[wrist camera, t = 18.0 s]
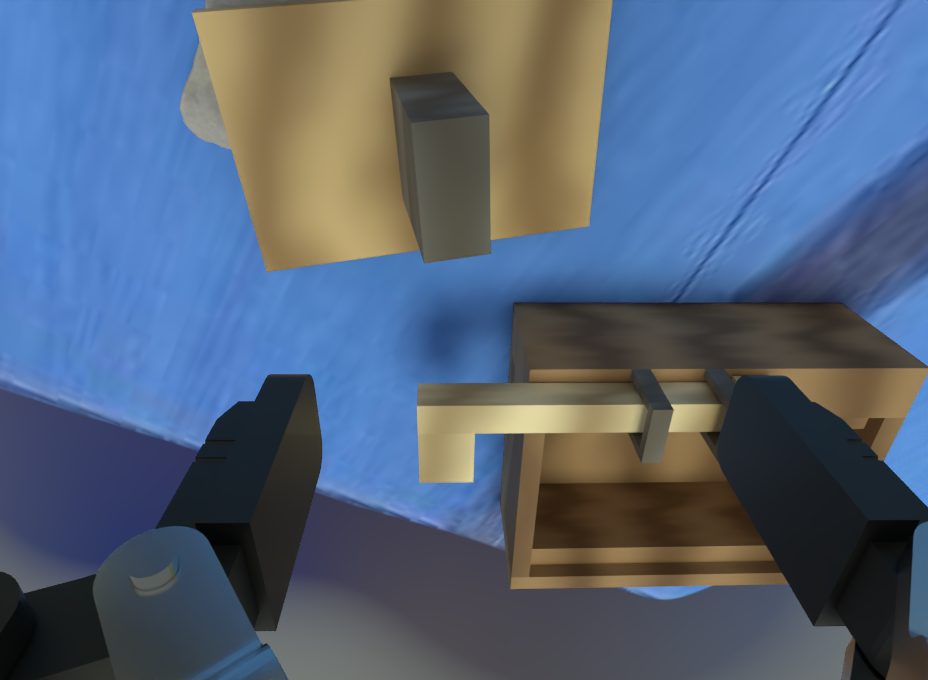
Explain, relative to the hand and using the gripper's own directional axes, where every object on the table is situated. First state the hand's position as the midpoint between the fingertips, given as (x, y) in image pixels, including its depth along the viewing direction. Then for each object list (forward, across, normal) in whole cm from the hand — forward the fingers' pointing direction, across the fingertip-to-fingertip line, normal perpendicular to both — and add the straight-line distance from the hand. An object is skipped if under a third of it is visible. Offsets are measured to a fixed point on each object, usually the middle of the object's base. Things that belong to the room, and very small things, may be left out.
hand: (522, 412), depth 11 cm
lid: (+22, +3, -1) cm, 22 cm away
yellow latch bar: (+17, -6, +13) cm, 22 cm away
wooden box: (+25, -14, +19) cm, 34 cm away
